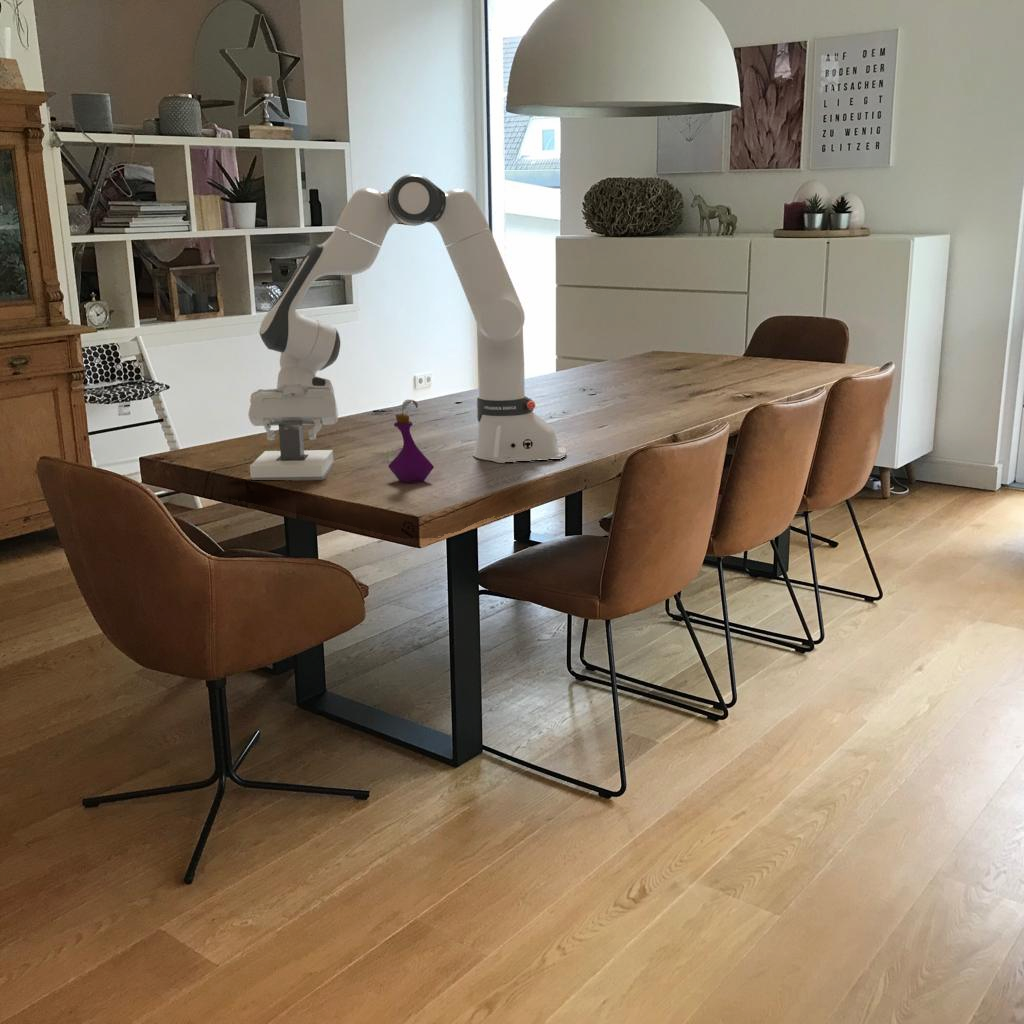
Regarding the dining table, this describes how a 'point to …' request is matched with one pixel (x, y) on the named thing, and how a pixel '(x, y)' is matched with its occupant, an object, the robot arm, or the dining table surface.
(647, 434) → the dining table surface
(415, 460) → the perfume bottle
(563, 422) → the dining table surface
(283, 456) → the plug
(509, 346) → the robot arm
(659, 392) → the dining table surface
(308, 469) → the socket block
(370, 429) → the dining table surface
